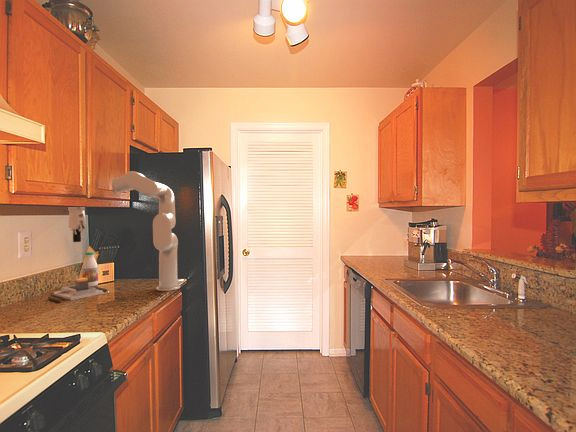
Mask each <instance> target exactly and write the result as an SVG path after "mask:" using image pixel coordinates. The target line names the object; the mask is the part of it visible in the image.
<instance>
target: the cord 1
mask: <svg viewBox="0 0 576 432" xmlns="http://www.w3.org/2000/svg"><path fill="white" fill-rule="evenodd" d="M48 300H51V301H54V302H56V303H59V304H61V303H62V302H63V301H62V299H58V298H56V297H52V296H49V297H48Z"/></svg>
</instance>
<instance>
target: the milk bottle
mask: <svg viewBox="0 0 576 432" xmlns="http://www.w3.org/2000/svg"><path fill="white" fill-rule="evenodd" d="M84 255H85V259H84V261H83V264H82V271H81V272H82V273H81V274H82V275H81V276H82V277H81V278H88V286H90V287H95V286H96V287H97V286H99V285H98V284H99V270H98V269H99V268H98V263H97V260H96V258H95V251H85V253H84Z"/></svg>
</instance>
